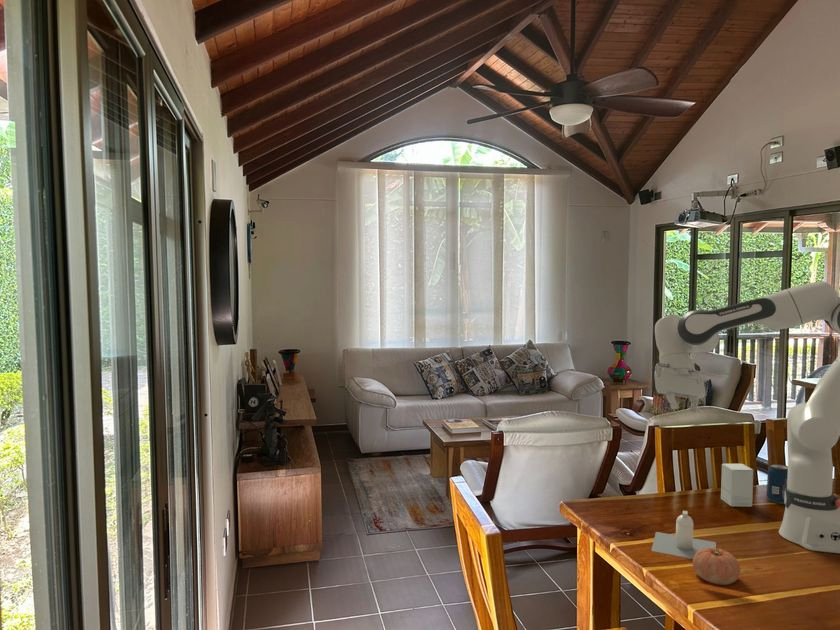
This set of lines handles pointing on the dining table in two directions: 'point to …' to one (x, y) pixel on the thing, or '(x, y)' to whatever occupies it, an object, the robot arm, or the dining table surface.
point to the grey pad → (668, 546)
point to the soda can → (777, 482)
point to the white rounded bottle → (684, 532)
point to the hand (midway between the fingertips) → (685, 410)
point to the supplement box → (737, 485)
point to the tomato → (716, 566)
